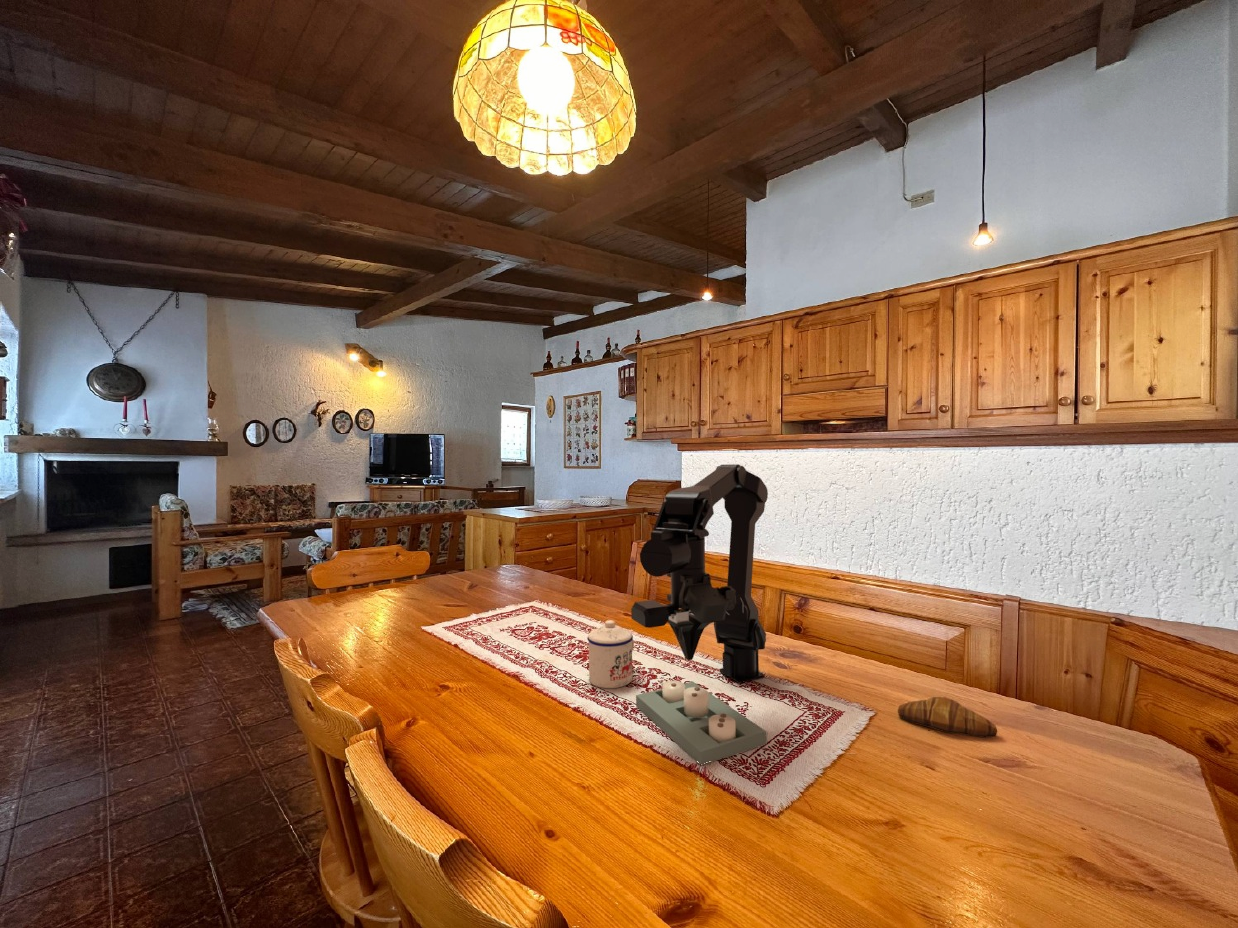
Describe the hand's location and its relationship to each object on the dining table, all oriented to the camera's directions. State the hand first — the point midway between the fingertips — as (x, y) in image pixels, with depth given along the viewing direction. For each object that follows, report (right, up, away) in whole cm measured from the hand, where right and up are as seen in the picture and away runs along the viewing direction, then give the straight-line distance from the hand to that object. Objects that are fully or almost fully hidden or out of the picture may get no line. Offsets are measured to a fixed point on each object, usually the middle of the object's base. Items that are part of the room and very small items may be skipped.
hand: (688, 659), depth 86 cm
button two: (+1, -8, -1) cm, 8 cm away
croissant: (+41, -10, -3) cm, 42 cm away
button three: (+4, -10, -7) cm, 13 cm away
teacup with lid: (-12, -11, +18) cm, 24 cm away
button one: (-2, -10, +5) cm, 11 cm away
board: (+1, -10, -1) cm, 10 cm away
